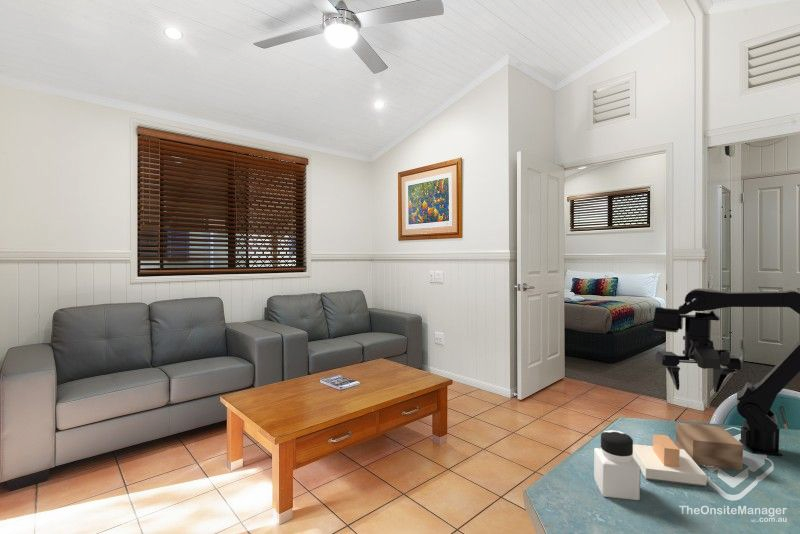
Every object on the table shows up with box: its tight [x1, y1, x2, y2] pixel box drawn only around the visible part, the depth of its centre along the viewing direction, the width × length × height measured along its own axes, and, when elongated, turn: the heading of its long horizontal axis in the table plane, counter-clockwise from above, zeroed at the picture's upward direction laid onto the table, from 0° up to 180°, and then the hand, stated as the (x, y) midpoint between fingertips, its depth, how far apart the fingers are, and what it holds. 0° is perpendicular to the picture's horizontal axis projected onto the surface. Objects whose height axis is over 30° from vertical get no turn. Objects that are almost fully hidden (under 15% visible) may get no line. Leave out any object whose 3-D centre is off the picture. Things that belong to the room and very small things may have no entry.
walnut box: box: [675, 422, 744, 471], centre depth 100 cm, size 10×10×6 cm
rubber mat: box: [645, 478, 705, 487], centre depth 94 cm, size 11×11×1 cm
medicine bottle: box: [593, 429, 641, 501], centre depth 87 cm, size 7×7×12 cm
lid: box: [633, 433, 707, 486], centre depth 94 cm, size 12×12×6 cm
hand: (696, 390), depth 112 cm, fingers open, 9 cm apart
